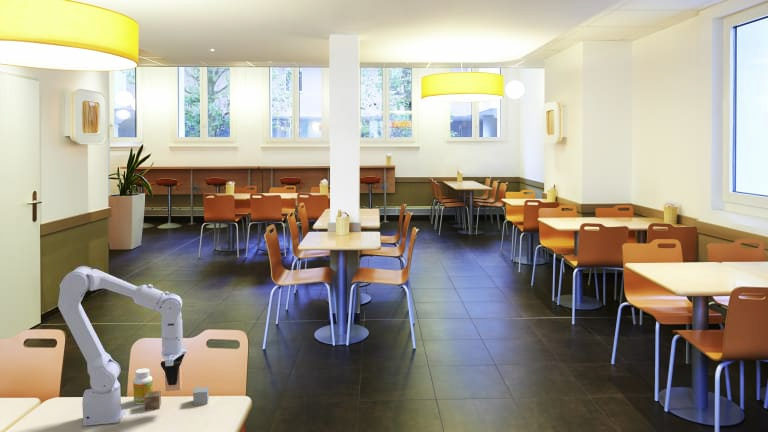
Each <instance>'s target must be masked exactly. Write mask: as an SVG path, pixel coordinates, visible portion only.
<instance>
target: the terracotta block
mask: <svg viewBox="0 0 768 432" xmlns="http://www.w3.org/2000/svg"><path fill="white" fill-rule="evenodd" d="M182 373H183V371H182V364H181V365H180V367H179V371H178V379H177V383H176V385H168V382H167V378H166V374H165V373H164V380H165V381H164V383H165V384H164V385H165V392H174V391H175V392H176V391H181V389H182V386H183V375H182Z"/></svg>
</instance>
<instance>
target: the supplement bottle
mask: <svg viewBox="0 0 768 432" xmlns="http://www.w3.org/2000/svg"><path fill="white" fill-rule="evenodd" d="M150 373H151V371H150V369H149V368H148V367H147V368H138V369H136V370H135V373H134V374H135V377H134V379H133V381H132V383H133V384H132V385H133V403H134V404H136V405H145V398H144V397H145V395H146V392H154V390H153V389H154V387H153V386H154V385H153V377H152V376H151V374H150Z"/></svg>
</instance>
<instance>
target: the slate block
mask: <svg viewBox="0 0 768 432" xmlns="http://www.w3.org/2000/svg"><path fill="white" fill-rule="evenodd" d="M192 396H193V406H202V405H208V403H209V386H198V387H194V389H193V394H192Z"/></svg>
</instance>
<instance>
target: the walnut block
mask: <svg viewBox="0 0 768 432" xmlns="http://www.w3.org/2000/svg"><path fill="white" fill-rule="evenodd" d="M144 398H145V404H144V411H150V410H151V411H152V410H160V408H161V404H162V395H161V390H157V391H154V390H153V392H146V395H145V397H144Z"/></svg>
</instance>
